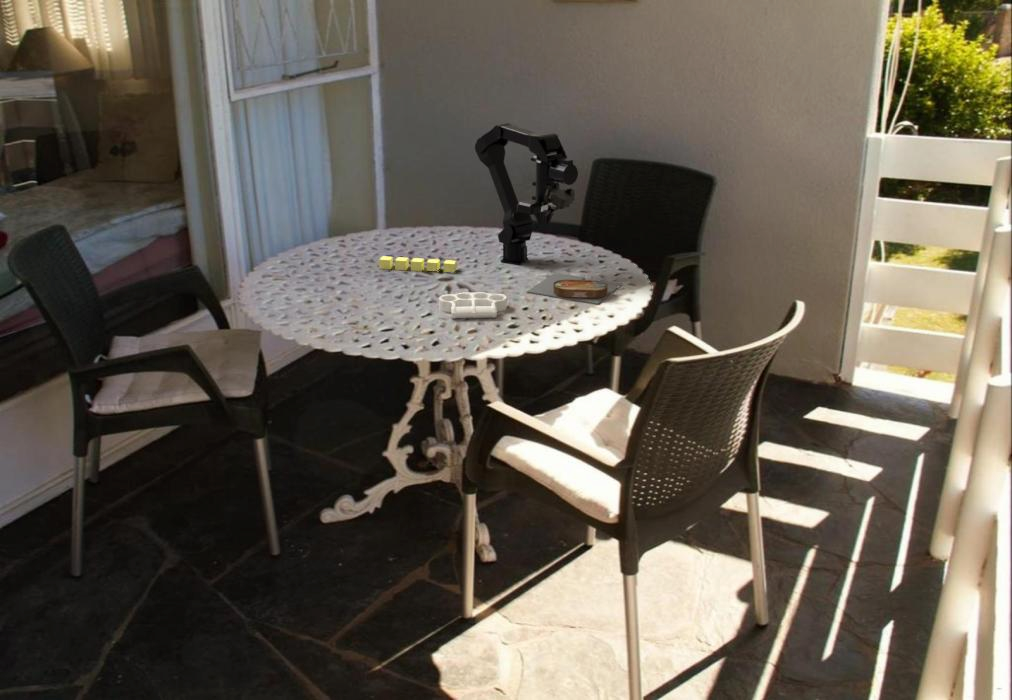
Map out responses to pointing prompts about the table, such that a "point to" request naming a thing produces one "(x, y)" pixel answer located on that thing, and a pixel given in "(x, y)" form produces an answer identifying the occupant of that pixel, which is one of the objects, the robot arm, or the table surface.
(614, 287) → the mat
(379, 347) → the table surface
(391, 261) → the yellow cube row
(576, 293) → the tin
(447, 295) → the white brass knuckles
